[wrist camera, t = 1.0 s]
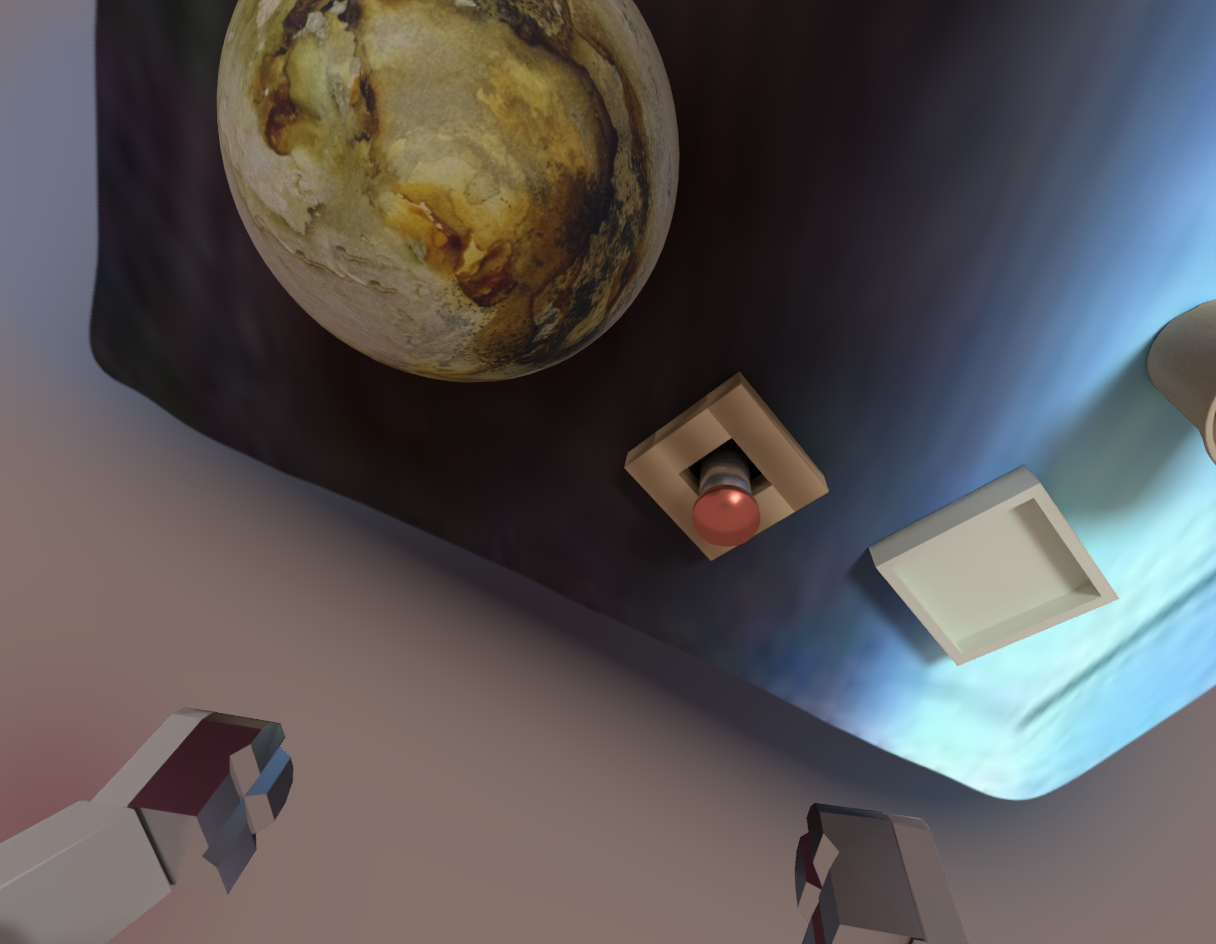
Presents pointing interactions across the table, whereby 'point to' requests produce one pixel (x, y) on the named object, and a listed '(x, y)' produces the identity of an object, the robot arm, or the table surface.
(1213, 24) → the table surface
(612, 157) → the decorative sphere
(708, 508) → the pin
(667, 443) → the block
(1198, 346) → the flower pot
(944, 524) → the tray
